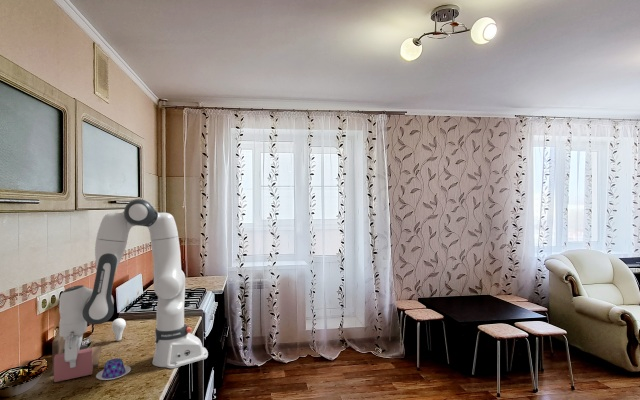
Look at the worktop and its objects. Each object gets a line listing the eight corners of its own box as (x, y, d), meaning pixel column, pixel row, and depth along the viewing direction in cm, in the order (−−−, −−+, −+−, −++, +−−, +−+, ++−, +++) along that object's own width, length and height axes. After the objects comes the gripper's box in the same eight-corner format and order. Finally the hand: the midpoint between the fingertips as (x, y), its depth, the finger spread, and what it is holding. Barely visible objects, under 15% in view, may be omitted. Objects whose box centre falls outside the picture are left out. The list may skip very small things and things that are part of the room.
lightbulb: (109, 343, 170) (109, 321, 170) (113, 339, 176) (113, 317, 176) (123, 342, 171) (123, 319, 172) (127, 338, 177) (127, 316, 177)
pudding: (95, 384, 132) (95, 370, 132) (96, 371, 142) (96, 358, 142) (131, 376, 138) (131, 363, 138) (130, 364, 148) (130, 352, 148)
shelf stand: (101, 348, 165) (101, 320, 165) (98, 366, 146) (98, 335, 146) (59, 355, 157) (59, 326, 157) (50, 376, 138) (50, 342, 138)
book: (92, 370, 141) (92, 347, 141) (91, 374, 138) (91, 351, 138) (55, 377, 135) (55, 354, 135) (53, 382, 132) (53, 358, 132)
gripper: (80, 335, 129) (80, 372, 129) (85, 319, 147) (85, 352, 147) (59, 338, 126) (59, 377, 126) (67, 322, 144) (67, 356, 144)
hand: (73, 364), depth 137 cm, fingers closed on book, 4 cm apart
